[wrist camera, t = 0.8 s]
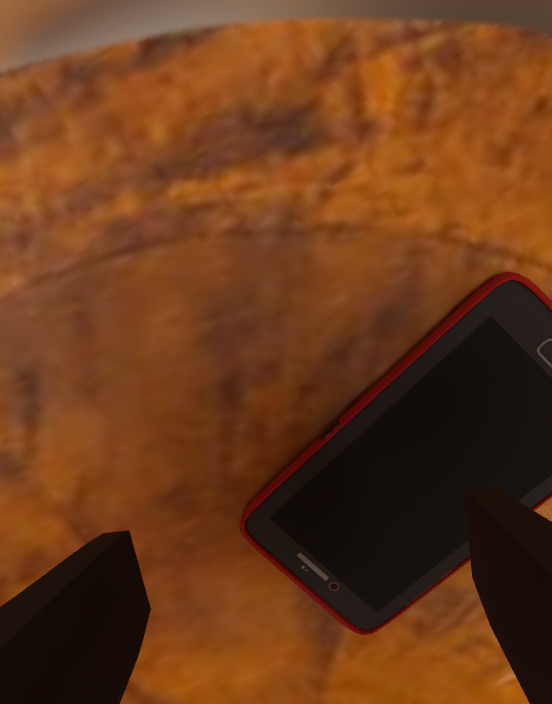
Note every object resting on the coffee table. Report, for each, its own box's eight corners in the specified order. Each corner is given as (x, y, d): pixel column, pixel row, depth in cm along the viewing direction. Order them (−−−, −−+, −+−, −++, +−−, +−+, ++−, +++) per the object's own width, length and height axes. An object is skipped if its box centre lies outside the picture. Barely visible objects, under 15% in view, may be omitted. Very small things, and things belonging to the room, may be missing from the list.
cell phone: (644, 404, 18) (662, 414, 17) (361, 627, 22) (363, 645, 21) (505, 260, 17) (516, 261, 17) (232, 514, 21) (228, 528, 20)
